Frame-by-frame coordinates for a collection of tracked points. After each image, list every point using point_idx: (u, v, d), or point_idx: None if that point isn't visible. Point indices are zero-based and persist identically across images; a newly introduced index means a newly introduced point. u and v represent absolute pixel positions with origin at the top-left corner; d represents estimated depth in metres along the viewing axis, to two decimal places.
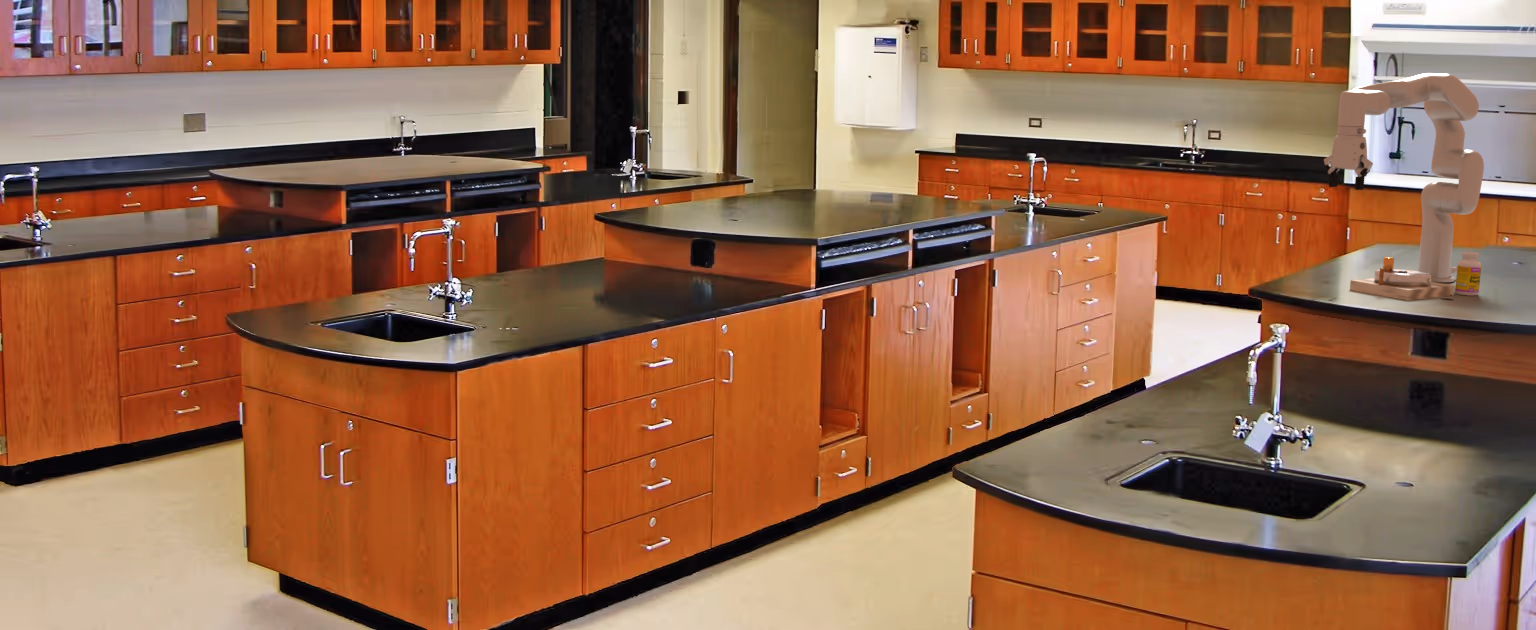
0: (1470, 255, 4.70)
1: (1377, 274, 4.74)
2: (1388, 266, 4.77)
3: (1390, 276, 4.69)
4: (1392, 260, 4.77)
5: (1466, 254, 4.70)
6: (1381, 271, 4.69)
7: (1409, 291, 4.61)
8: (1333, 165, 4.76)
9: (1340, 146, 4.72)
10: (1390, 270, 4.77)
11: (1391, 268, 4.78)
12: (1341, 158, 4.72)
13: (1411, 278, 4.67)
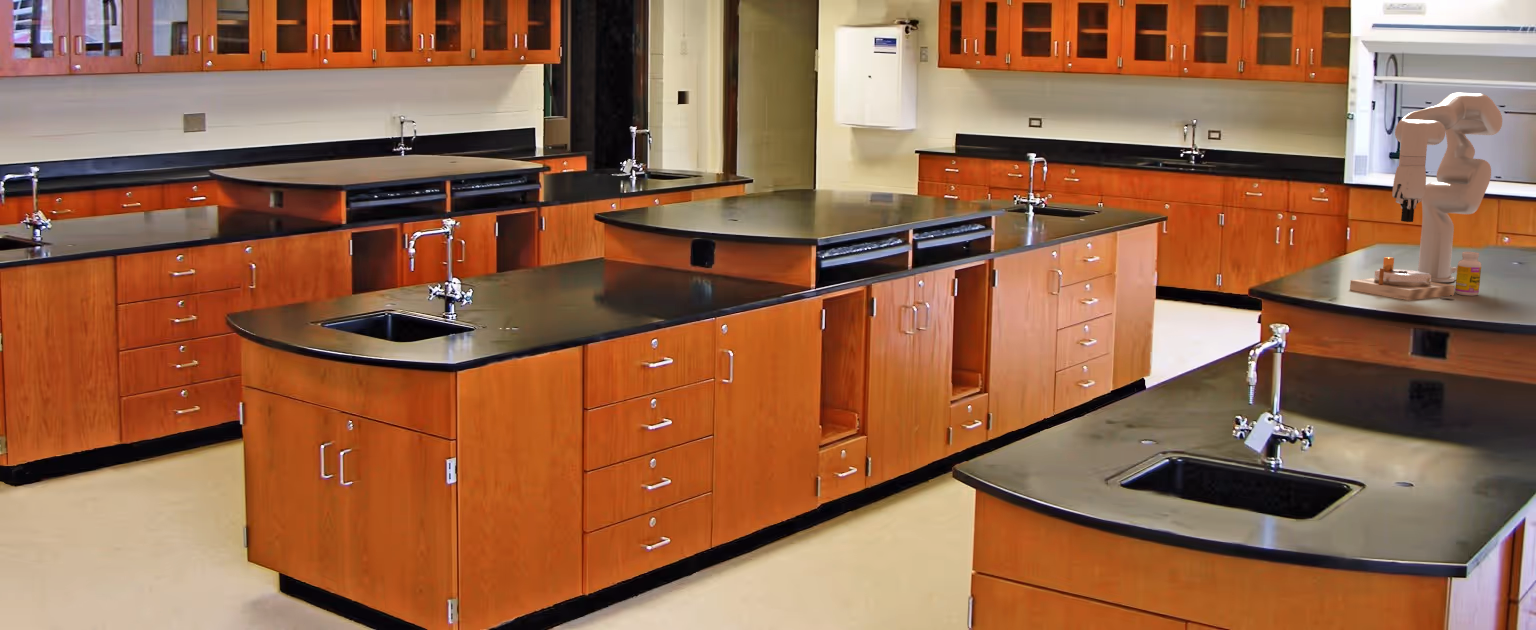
0: (1470, 255, 4.70)
1: (1377, 274, 4.74)
2: (1388, 266, 4.77)
3: (1390, 276, 4.69)
4: (1392, 260, 4.77)
5: (1466, 254, 4.70)
6: (1381, 271, 4.69)
7: (1409, 291, 4.61)
8: (1407, 196, 4.75)
9: (1415, 176, 4.75)
10: (1390, 270, 4.77)
11: (1391, 268, 4.78)
12: (1415, 188, 4.76)
13: (1411, 278, 4.67)
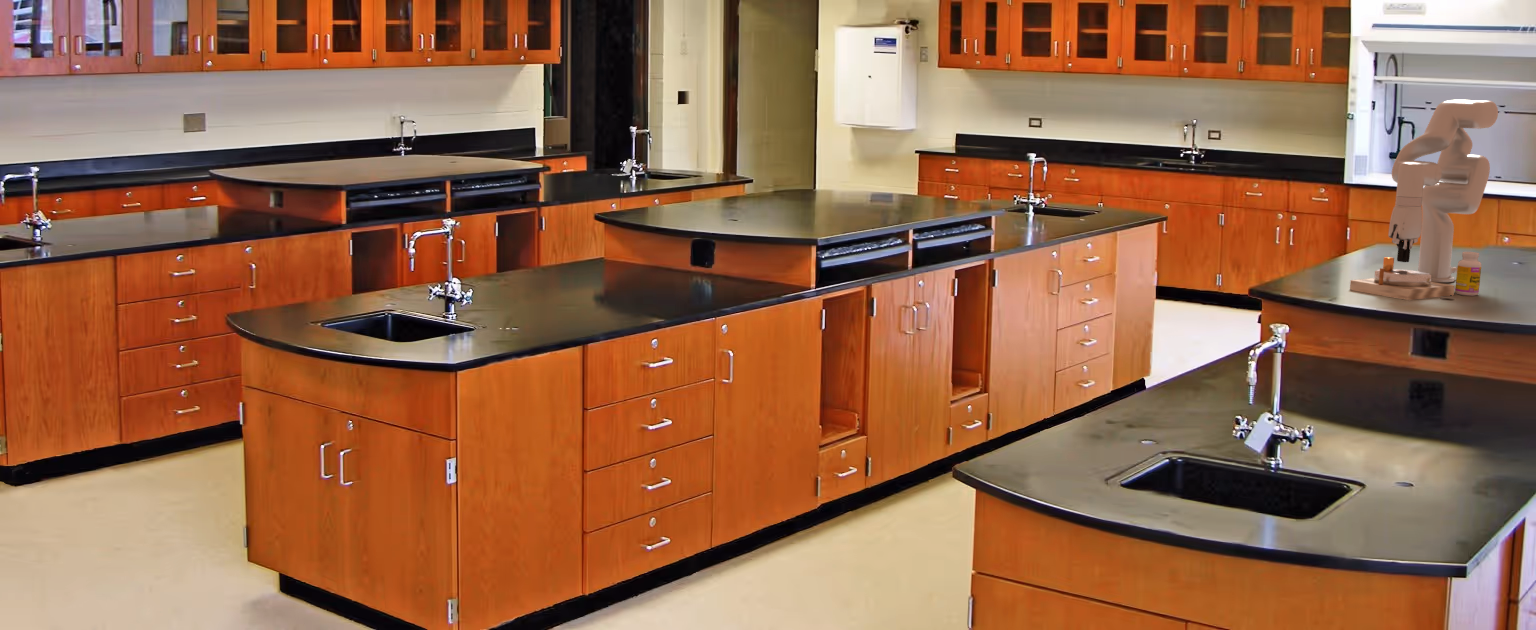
0: (1470, 255, 4.70)
1: (1377, 274, 4.74)
2: (1388, 266, 4.77)
3: (1390, 276, 4.69)
4: (1392, 260, 4.77)
5: (1466, 254, 4.70)
6: (1381, 271, 4.69)
7: (1409, 291, 4.61)
8: (1403, 237, 4.77)
9: (1411, 217, 4.77)
10: (1390, 270, 4.77)
11: (1391, 268, 4.78)
12: (1411, 229, 4.78)
13: (1411, 278, 4.67)
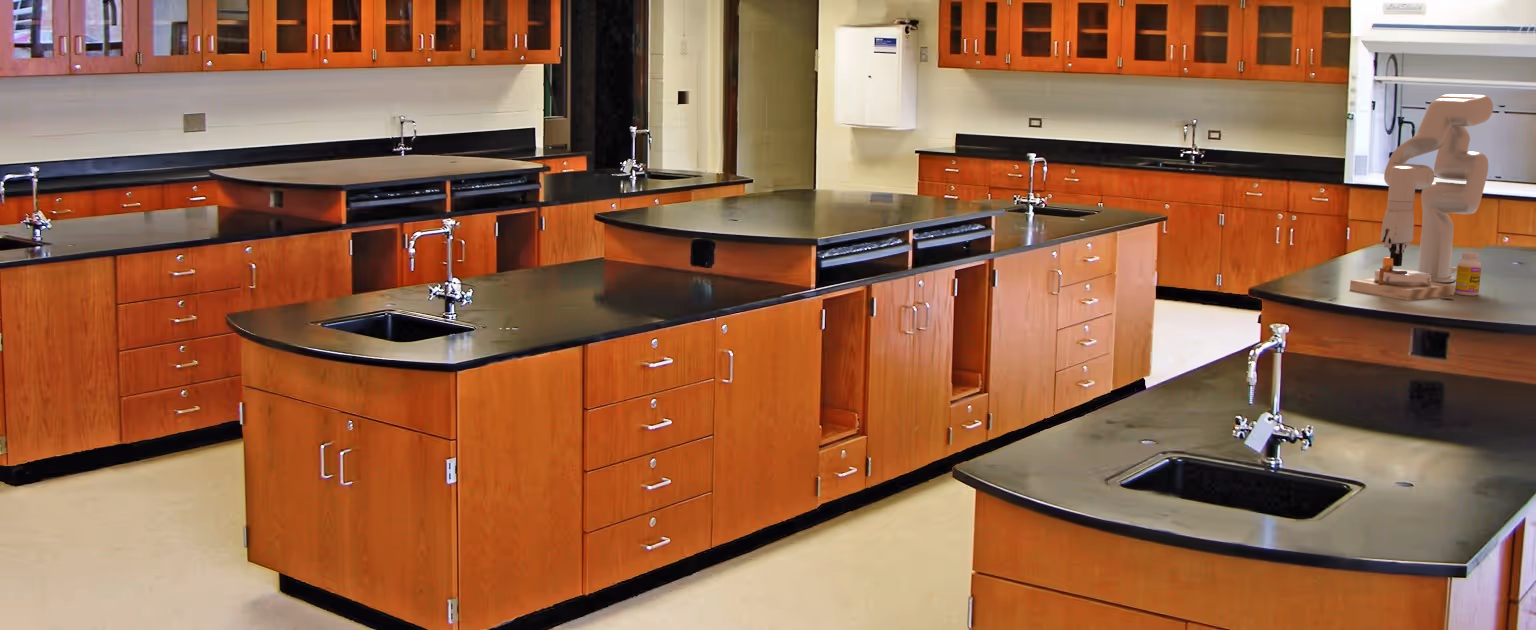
0: (1470, 255, 4.70)
1: (1377, 274, 4.74)
2: (1388, 266, 4.77)
3: (1391, 276, 4.69)
4: (1392, 260, 4.77)
5: (1466, 254, 4.70)
6: (1381, 271, 4.69)
7: (1409, 291, 4.61)
8: (1395, 241, 4.76)
9: (1403, 221, 4.75)
10: (1390, 270, 4.77)
11: (1391, 268, 4.77)
12: (1403, 233, 4.76)
13: (1412, 278, 4.67)
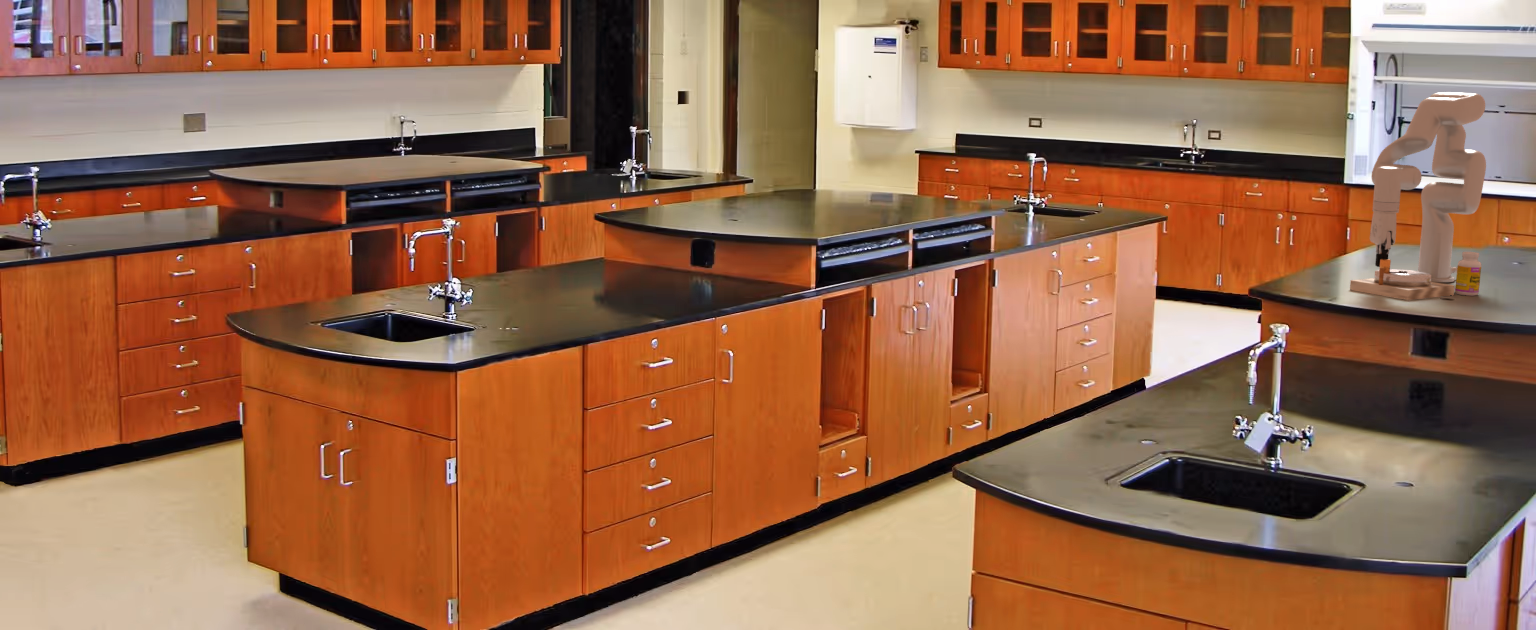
0: (1470, 255, 4.70)
1: (1397, 277, 4.68)
2: (1389, 268, 4.73)
3: (1416, 278, 4.67)
4: None
5: (1466, 254, 4.70)
6: (1381, 271, 4.69)
7: (1409, 291, 4.61)
8: None
9: None
10: (1389, 272, 4.74)
11: (1389, 269, 4.74)
12: None
13: (1429, 277, 4.69)
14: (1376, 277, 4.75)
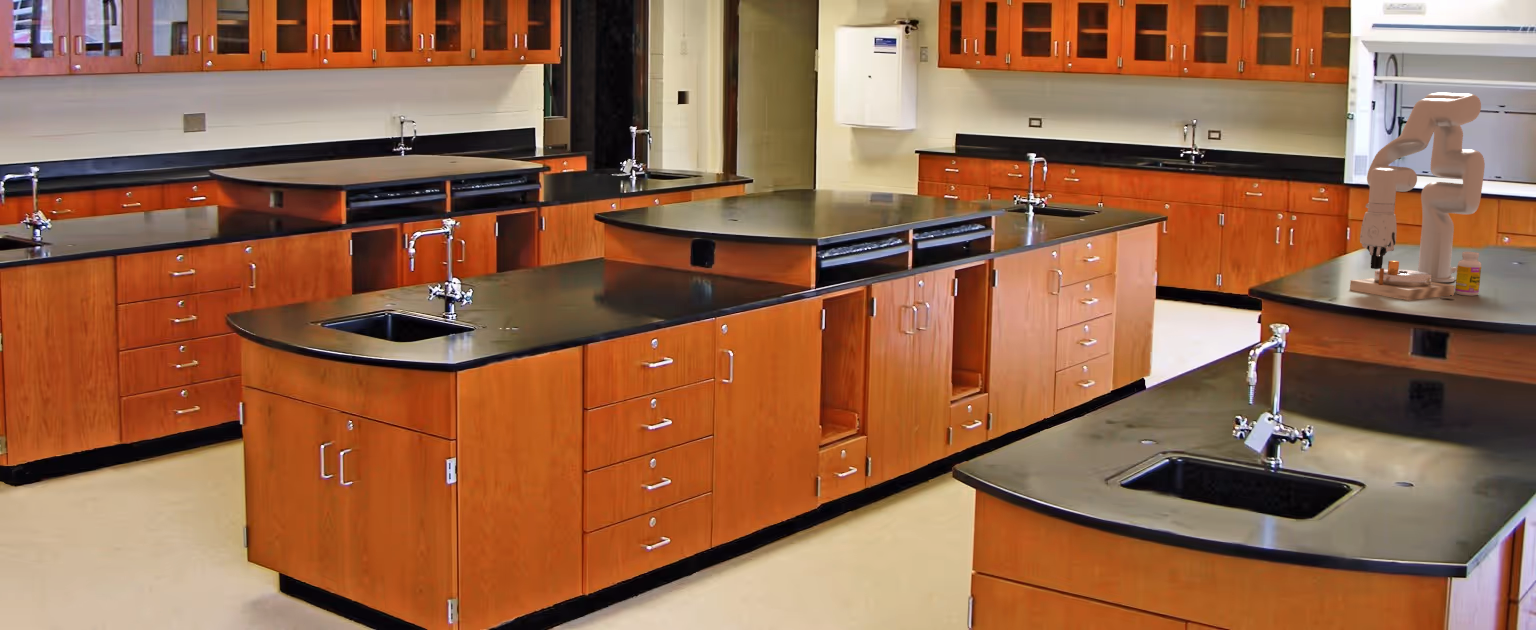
0: (1470, 255, 4.70)
1: (1417, 278, 4.67)
2: None
3: (1429, 277, 4.69)
4: None
5: (1466, 254, 4.70)
6: (1381, 271, 4.69)
7: (1409, 291, 4.61)
8: None
9: None
10: None
11: None
12: None
13: None
14: (1389, 280, 4.69)
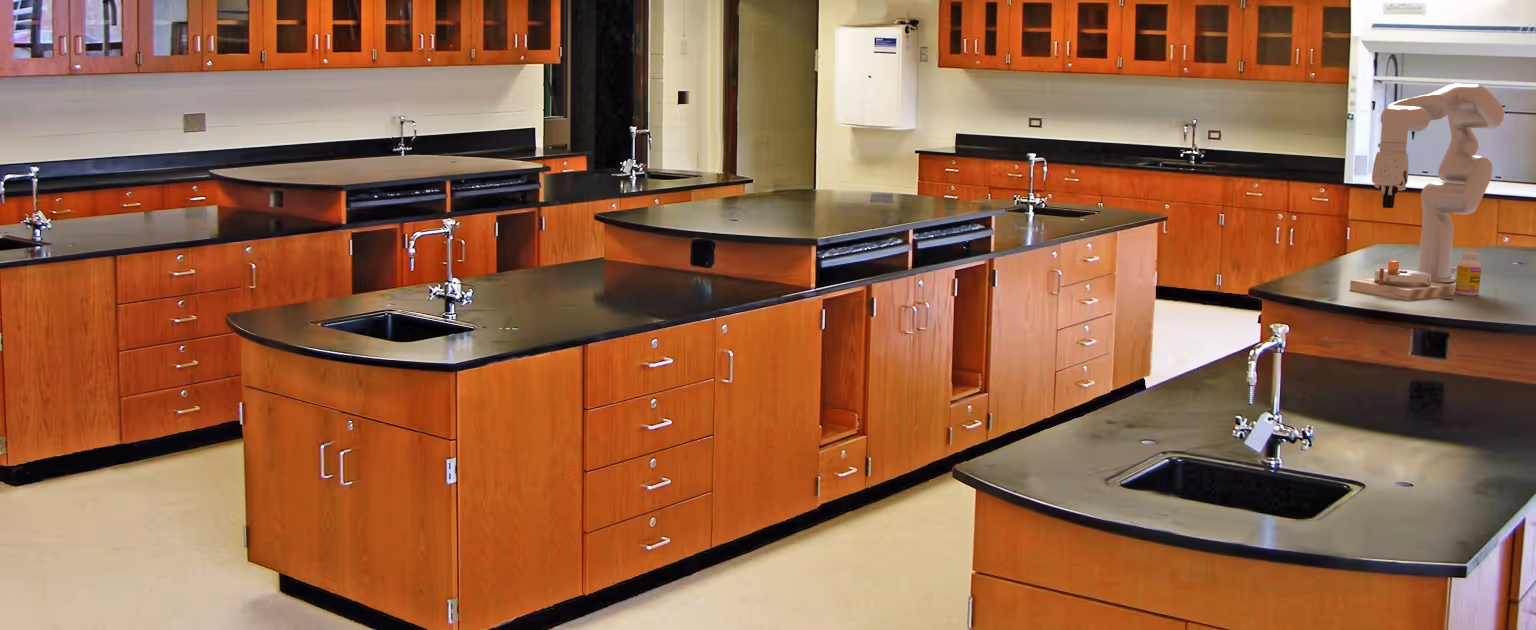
0: (1470, 255, 4.70)
1: (1417, 278, 4.67)
2: None
3: (1429, 277, 4.69)
4: None
5: (1466, 254, 4.70)
6: (1381, 271, 4.69)
7: (1409, 291, 4.61)
8: None
9: None
10: None
11: None
12: None
13: None
14: (1389, 280, 4.69)
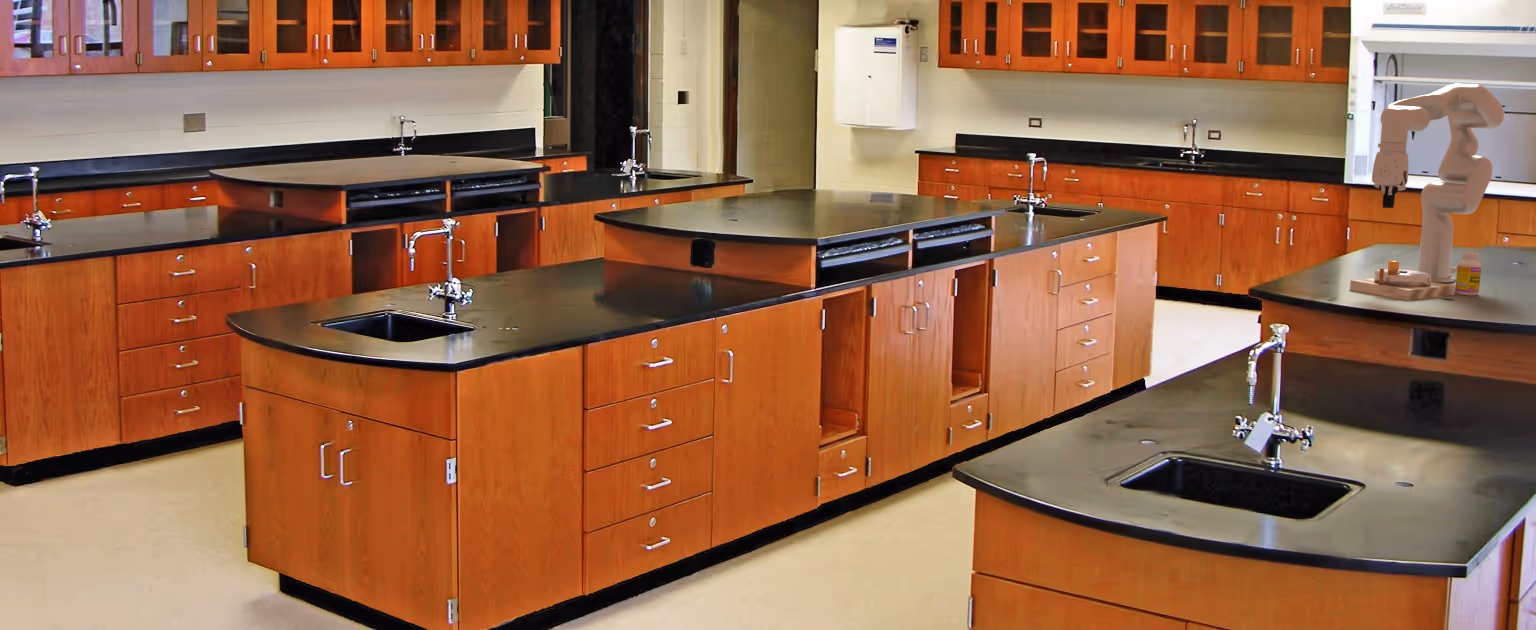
0: (1470, 255, 4.70)
1: (1417, 278, 4.67)
2: None
3: (1429, 277, 4.69)
4: None
5: (1466, 254, 4.70)
6: (1381, 271, 4.69)
7: (1409, 291, 4.61)
8: None
9: None
10: None
11: None
12: None
13: None
14: (1389, 280, 4.69)
